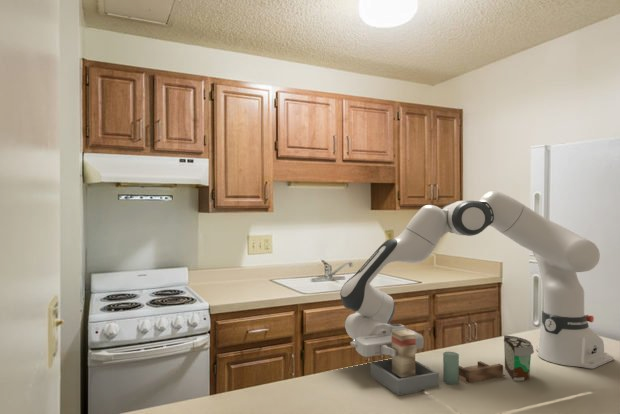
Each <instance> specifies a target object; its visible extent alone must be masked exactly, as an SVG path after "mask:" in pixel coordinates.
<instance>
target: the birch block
mask: <svg viewBox="0 0 620 414" xmlns="http://www.w3.org/2000/svg"><path fill="white" fill-rule="evenodd" d="M415 345H416V339H415V334H414V333H412V332H409V331H407V330H400V331H392V348H396V349H397V350H398V356H395V357H393V356H391V359H392V372H393V373H395V374H396V375H398V376H400V377H401V378H402V377H407V376H413V375H415V361H416V353H415Z"/></svg>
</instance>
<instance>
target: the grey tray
mask: <svg viewBox="0 0 620 414" xmlns="http://www.w3.org/2000/svg"><path fill="white" fill-rule="evenodd" d="M439 376H440V373H439V372H437V371H436V370H434V369H433V368H432V369H431V368H430V367H428V366H427V365H424V364H423V363H420V362H419V361H417V360H415V375H413V376H407V377H402V378H401V377H400V376H398V375H396V374H395V373H393V372H392V358H391V359H384V360H377V361H371V362H370V377H371V378H373V379H374V380H376V381H377V382H379V384H381V385H383V386H384V387H386V388H387V389H388V390H390V391H391V392H392V393H394V394H396V395H397V397H398V396H403V395H408V394H414V393H418V392H424V391H425V390H424V389H429V388H434V387H438V386H440V384H439V383H440V377H439Z"/></svg>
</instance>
